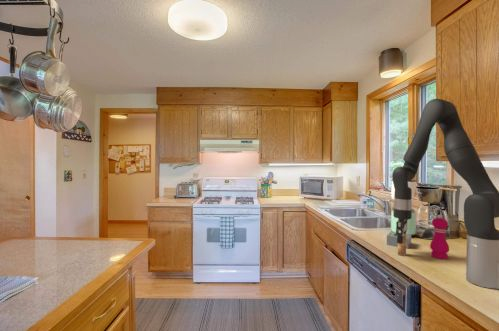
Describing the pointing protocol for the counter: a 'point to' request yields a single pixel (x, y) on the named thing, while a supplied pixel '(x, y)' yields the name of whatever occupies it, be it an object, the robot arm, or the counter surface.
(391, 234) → the socket block
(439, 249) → the pepper mill
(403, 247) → the peg
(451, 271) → the counter surface
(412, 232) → the juicer
